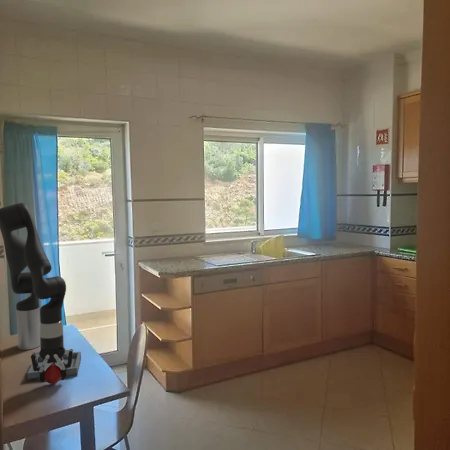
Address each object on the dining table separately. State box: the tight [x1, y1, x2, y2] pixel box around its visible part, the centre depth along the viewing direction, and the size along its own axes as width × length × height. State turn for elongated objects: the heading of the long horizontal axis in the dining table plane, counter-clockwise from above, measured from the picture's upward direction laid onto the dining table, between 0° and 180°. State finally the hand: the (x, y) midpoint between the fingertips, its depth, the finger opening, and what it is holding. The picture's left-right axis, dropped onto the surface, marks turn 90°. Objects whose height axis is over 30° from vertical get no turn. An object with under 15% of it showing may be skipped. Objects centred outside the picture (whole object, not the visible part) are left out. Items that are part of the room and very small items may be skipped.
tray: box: [26, 351, 82, 382], centre depth 161 cm, size 17×17×3 cm
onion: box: [44, 363, 62, 386], centre depth 148 cm, size 6×6×8 cm
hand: (53, 380), depth 148 cm, fingers closed on onion, 6 cm apart
